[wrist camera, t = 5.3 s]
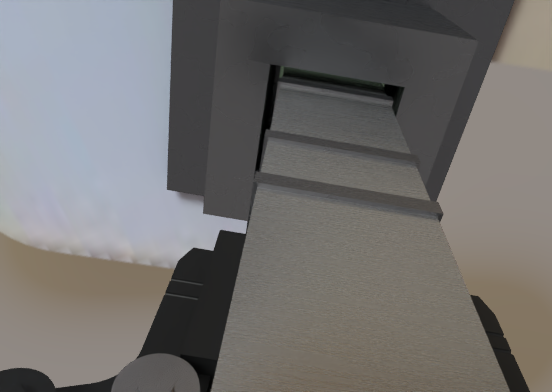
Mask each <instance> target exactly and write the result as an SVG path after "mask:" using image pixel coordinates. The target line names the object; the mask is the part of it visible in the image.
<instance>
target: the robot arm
mask: <svg viewBox="0 0 552 392" xmlns="http://www.w3.org/2000/svg"><path fill="white" fill-rule="evenodd" d="M245 239H246V234H242V233H236V232H230V231H224V230H220V232H219V235H218V238H217V241H216V244H215V248H214V251H210V250H204V249H198V248H193V249H192V250H190V251H189V252H188V253H187V254H186V255H185V256H183V257H182V258H181V259H180V260H179V261H178V263H177V266H176V268H175V270H174V273H173V275H172V278H171V281H170V282H169V285H168V287H167V290H166V294H165V295H164V297H163V300H162V302H161V304H160V307H159V309H158V311H157V314H156V316H155V319H154V321H153V323H152V326H151V328H150V331H149V333H148V335H147V338H146V340H145V343H144V345H143V348H142V350H141V352H140V354H139V356H138V357H137V358H136V360H134V361H132V362H130V363H129V364H128V365H127V366H125V367H124V368H123V369H122V370H121V371H120V373H119V374H118V375H116V376H114V377H112V378H110V379H107V380H104V381H101V382H97V383H91V384H84V385H76V386H69V387H62V388H55V386H54V384H53V383H52V381H51V380H50V379H49V377H48V376H46V375H45V374H43V373H42V372H39V371H37V370H33V369H29V368H14V369H8V370H3V371H0V392H211V389H212V384H213V380H214V376H215V371H216V367H217V362H218V358H219V354H220V349H221V345H222V340H223V336H224V331H225V327H226V323H227V318H228V314H229V309H230V305H231V301H232V296H233V292H234V287H235V283H236V278H237V274H238V270H239V265H240V261H241V256H242V252H243V248H244V243H245ZM470 296H471V299H472V301H473V304H474V306H475V308H476V311H477V313H478V316H479V318H480V320H481V323H482V325H483V328H484V330H485V332H486V335H487V337H488V340H489V342H490V344H491V347H492V349H493V352H494V354H495V356H496V359H497V361H498V364H499V366H500V368H501V371H502V373H503V376H504V378H505V380H506V383H507V385H508V388H509V390H510V392H530V391H529V389H528V386H527V384H526V382H525V380H524V377H523V375H522V373H521V371H520V369H519V366H518V364H517V362H516V360H515V358H514V356H513V355H512V354H511V349H510V347H509V344H508V342H507V340H506V338H504V337H503V335H504V334H503V331H502V329H501V327H500V325H499V322H498V320H497V318H496V316H495V314H494V313H493V312H492V311H491V310H490V309H489V308H488V306H487V305H486V304H485V303H484V302H483V301H482V300H481V299H480V298H479V297H478V296H473V295H470Z"/></svg>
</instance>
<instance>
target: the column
mask: <svg viewBox="0 0 552 392" xmlns="http://www.w3.org/2000/svg"><path fill="white" fill-rule="evenodd" d="M384 85H385V84H384V83H378V82H372V81H366V80H360V79H355V78H349V77H343V76H337V75H331V74H326V73H320V72H314V71H308V70H302V69H297V68H291V67H285V66H281V69H280V75H279V80H278V85H277V92H276V98H275V105H274V111H273V118H272V124H271V128H270V130H268V129H266V133H265V137H264V144H263V150H262V157H261V164H260V170H259V172H258V171H256V173H255V177H254V181H253V188H252V195H251V202H250V209H249V216H248V223H247V230H246V239H245V243H244V248H243V252H242V256H241V261H240V265H239V270H238V274H237V278H236V283H235V287H234V292H233V296H232V301H231V305H230V309H229V314H228V318H227V323H226V327H225V331H224V336H223V340H222V345H221V349H220V354H219V358H218V362H217V367H216V371H215V376H214V380H213V384H212V389H211V392H510V390H509V388H508V385H507V383H506V380H505V378H504V376H503V373H502V371H501V368H500V366H499V364H498V361H497V359H496V356H495V354H494V352H493V349H492V347H491V344H490V342H489V340H488V337H487V335H486V332H485V330H484V328H483V325H482V323H481V320H480V318H479V316H478V313H477V311H476V308H475V306H474V304H473V301H472V299H471V296H470V294H469V292H468V289H467V287H466V285H465V282H464V280H463V277H462V275H461V273H460V270H459V268H458V265H457V263H456V261H455V258H454V256H453V253H452V251H451V249H450V246H449V244H448V241H447V239H446V237H445V234H444V232H443V229H442V227H441V225H440V221H441V219H442V216H443V212H442V210H441V208H440V205H439V203H438V202H435V201H430V198H429V196H428V193H427V191H426V189H425V186H424V184H423V181H422V179H421V177H420V174H419V172H418V170H419V167H420V164H421V162H420V160H419V158H418V155H415V154H411V153H410V150H409V148H408V145H407V143H406V141H405V138H404V136H403V133H402V131H401V129H400V126H399V124H398V121H397V119H396V117H395V114H394V112H393V109H392V105H393V99H392V97H390V96H387V95H386V93H385V90H384Z"/></svg>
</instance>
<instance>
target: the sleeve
mask: <svg viewBox="0 0 552 392" xmlns="http://www.w3.org/2000/svg"><path fill="white" fill-rule="evenodd" d="M513 3H514V0H173V18H172V49H171V81H170V112H169V144H168V175H167V190H172V191H178V192H184V193H190V194H196V195H202V196H204V208H203V214H209V215H215V216H221V217H227V218H233V219H239V220H245V221H248V216H249V209H250V202H251V195H252V188H253V181H254V177H255V173H256V171H258V172H259V170H260V164H261V157H262V150H263V144H264V137H265V133H266V129H268V130H270V128H271V124H272V118H273V111H274V105H275V98H276V92H277V85H278V80H279V75H280V69H281V66H285V67H291V68H297V69H302V70H308V71H314V72H320V73H326V74H331V75H337V76H343V77H349V78H355V79H360V80H366V81H372V82H378V83H384V84H385V85H384V90H385V93H386V95H387V96H390V97H392V99H393V105H392V109H393V112H394V114H395V117H396V119H397V121H398V124H399V126H400V129H401V131H402V133H403V136H404V138H405V141H406V143H407V145H408V148H409V150H410V153H411V154H415V155H418V158H419V160H420V162H421V164H420V167H419V170H418V172H419V174H420V177H421V179H422V181H423V184H424V186H425V189H426V191H427V193H428V196H429V198H430V201H435V202H436V200H437V198H438V195H439V193H440V190H441V187H442V185H443V182H444V180H445V177H446V175H447V172H448V170H449V167H450V164H451V162H452V159H453V157H454V154H455V152H456V149H457V146H458V144H459V141H460V138H461V136H462V133H463V131H464V128H465V126H466V123H467V120H468V118H469V116H470V113H471V111H472V108H473V105H474V103H475V100H476V98H477V95H478V93H479V90H480V88H481V85H482V82H483V80H484V77H485V75H486V72H487V69H488V67H489V64H490V62H491V59H492V57H493V54H494V52H495V49H496V47H497V44H498V41H499V39H500V36H501V34H502V31H503V29H504V26H505V23H506V21H507V18H508V16H509V13H510V11H511V8H512V6H513Z"/></svg>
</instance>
